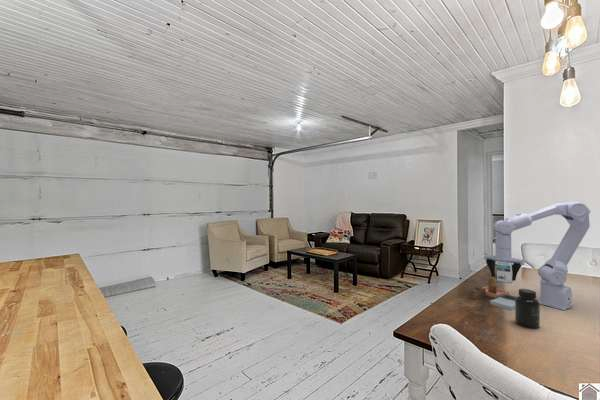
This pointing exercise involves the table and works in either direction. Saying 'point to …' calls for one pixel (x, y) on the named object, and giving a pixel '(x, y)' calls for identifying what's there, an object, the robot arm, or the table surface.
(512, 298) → the socket
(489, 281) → the dowel
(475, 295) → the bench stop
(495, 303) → the plate
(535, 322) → the supplement bottle
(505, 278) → the light bulb box
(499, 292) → the tray
